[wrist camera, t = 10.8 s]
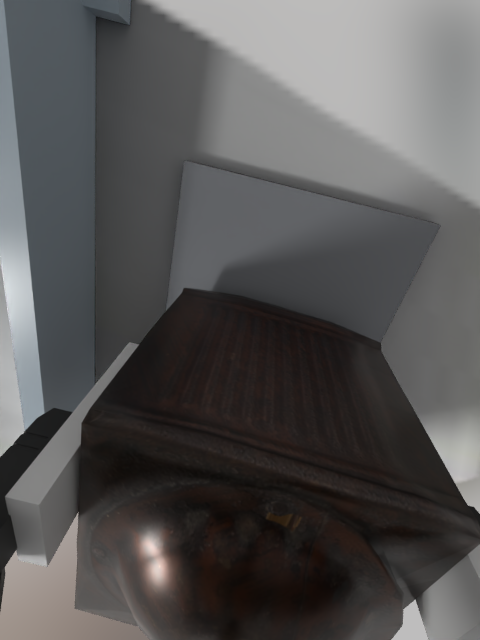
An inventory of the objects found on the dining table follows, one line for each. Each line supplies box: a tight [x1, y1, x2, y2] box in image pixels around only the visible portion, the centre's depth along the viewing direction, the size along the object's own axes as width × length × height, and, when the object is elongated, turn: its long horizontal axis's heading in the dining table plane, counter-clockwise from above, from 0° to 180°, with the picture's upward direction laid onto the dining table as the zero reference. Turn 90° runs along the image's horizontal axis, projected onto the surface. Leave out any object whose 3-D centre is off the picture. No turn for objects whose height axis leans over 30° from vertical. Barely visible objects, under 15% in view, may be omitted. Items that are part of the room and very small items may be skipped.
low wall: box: [0, 0, 131, 430], centre depth 15 cm, size 4×28×5 cm, turn 167°
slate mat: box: [166, 161, 441, 342], centre depth 18 cm, size 12×16×1 cm
